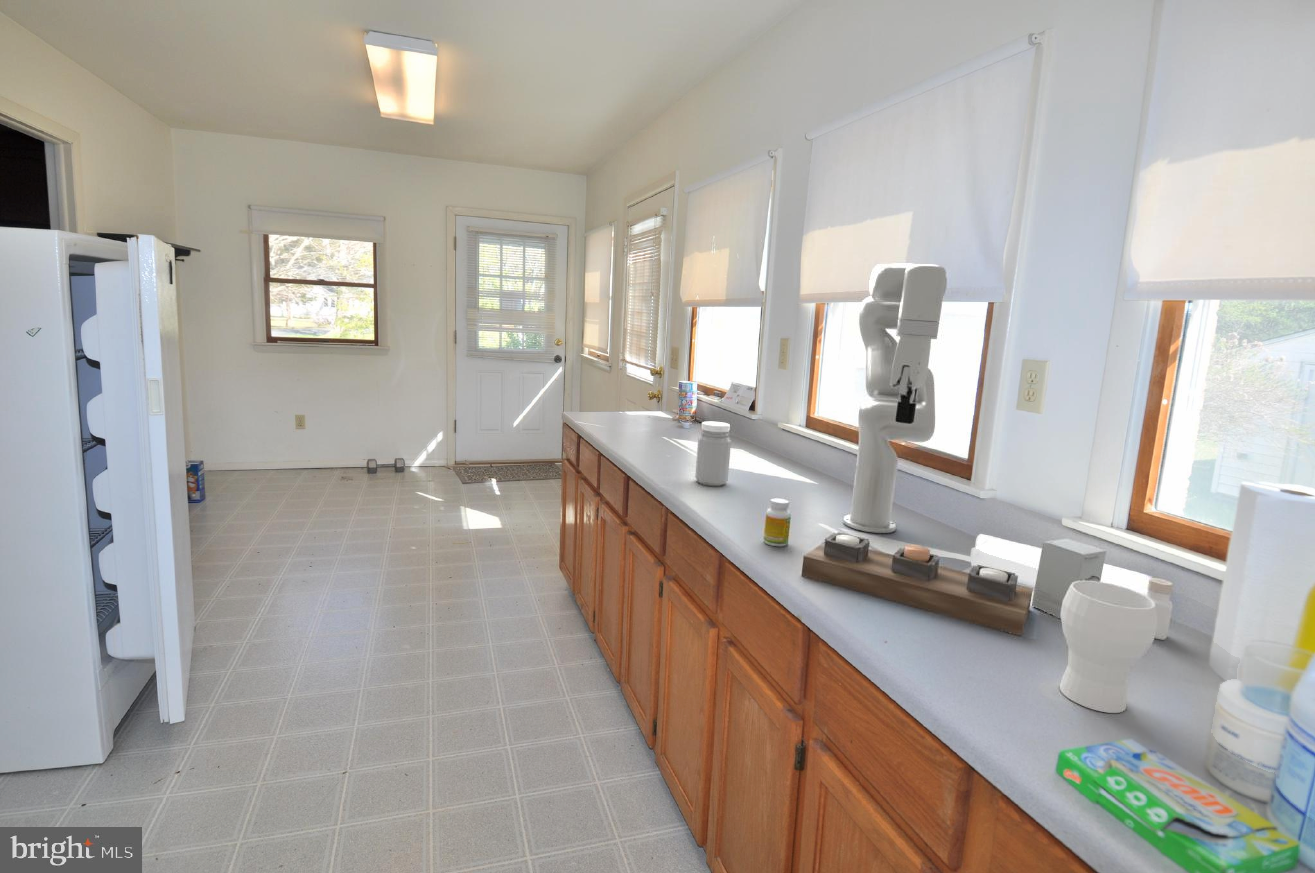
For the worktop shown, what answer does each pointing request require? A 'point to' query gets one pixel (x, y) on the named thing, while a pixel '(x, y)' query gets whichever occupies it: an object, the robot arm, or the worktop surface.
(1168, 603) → the pepper shaker
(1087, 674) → the cup
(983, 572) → the off-white plunger
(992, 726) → the worktop surface
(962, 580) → the button board
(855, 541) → the off-white plunger
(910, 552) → the terracotta plunger
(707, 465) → the jar
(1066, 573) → the supplement box
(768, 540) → the supplement bottle
